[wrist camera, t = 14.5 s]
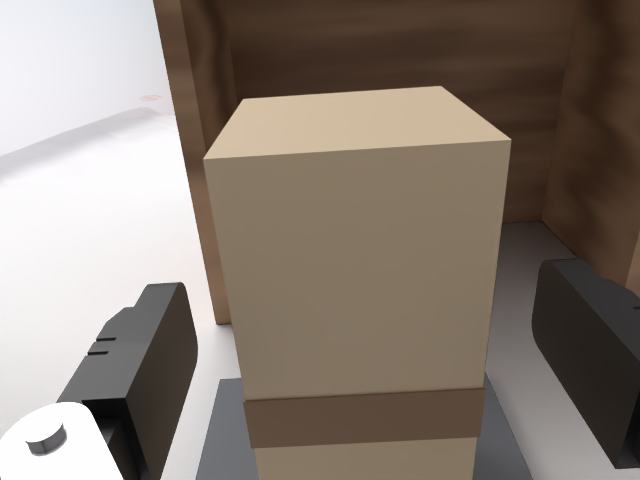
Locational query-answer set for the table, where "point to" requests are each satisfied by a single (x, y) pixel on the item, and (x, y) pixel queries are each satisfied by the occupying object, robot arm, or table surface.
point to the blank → (360, 278)
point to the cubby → (453, 75)
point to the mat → (240, 462)
